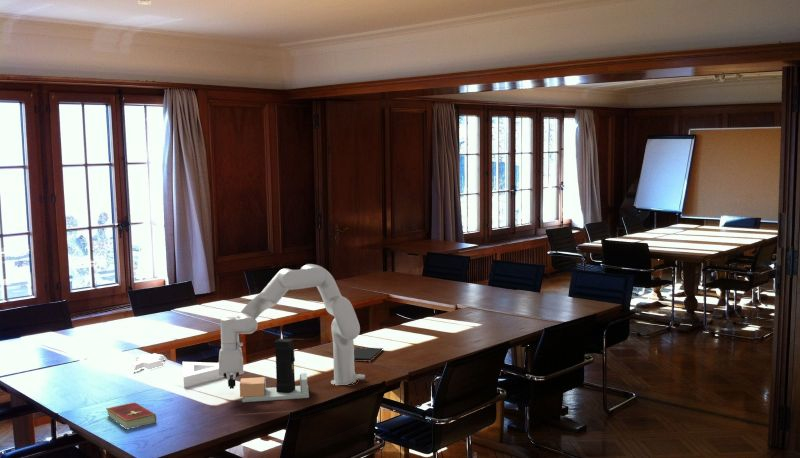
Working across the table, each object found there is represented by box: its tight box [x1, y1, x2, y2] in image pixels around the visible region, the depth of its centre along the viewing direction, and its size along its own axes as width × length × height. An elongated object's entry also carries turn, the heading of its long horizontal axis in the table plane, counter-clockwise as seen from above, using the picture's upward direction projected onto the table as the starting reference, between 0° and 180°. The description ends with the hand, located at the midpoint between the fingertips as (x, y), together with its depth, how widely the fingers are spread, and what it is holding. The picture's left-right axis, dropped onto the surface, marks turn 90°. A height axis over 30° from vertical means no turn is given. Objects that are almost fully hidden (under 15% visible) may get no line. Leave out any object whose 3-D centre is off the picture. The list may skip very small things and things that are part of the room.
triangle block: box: [182, 361, 237, 388], centre depth 349 cm, size 30×26×6 cm
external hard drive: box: [354, 347, 384, 360], centre depth 382 cm, size 14×23×3 cm, turn 165°
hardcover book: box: [105, 401, 157, 429], centre depth 291 cm, size 12×21×4 cm, turn 41°
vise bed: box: [241, 372, 310, 403], centre depth 319 cm, size 28×14×8 cm, turn 99°
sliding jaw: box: [239, 376, 267, 398], centre depth 318 cm, size 11×10×5 cm
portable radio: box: [274, 334, 296, 393], centre depth 319 cm, size 8×6×25 cm
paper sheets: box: [130, 353, 168, 370], centre depth 372 cm, size 35×20×6 cm, turn 12°
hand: (231, 387), depth 316 cm, fingers closed
